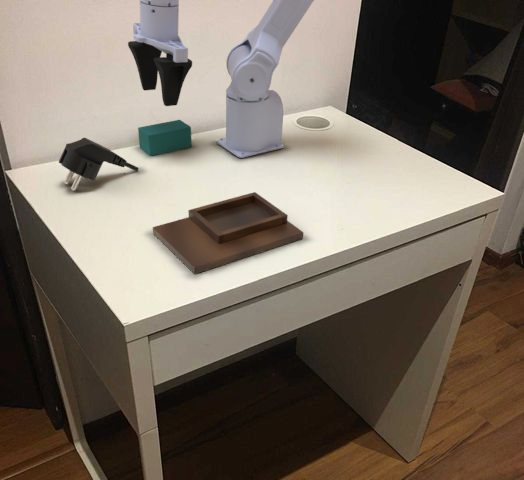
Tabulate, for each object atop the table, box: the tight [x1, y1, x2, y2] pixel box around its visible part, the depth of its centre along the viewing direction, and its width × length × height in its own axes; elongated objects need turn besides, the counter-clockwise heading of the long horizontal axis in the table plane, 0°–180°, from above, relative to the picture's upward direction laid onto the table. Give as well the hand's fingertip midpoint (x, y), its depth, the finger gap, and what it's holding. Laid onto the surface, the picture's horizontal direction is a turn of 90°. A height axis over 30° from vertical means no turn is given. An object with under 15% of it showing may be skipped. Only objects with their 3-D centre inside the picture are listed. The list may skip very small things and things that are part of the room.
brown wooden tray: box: [152, 191, 304, 275], centre depth 79 cm, size 17×12×2 cm
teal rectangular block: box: [137, 119, 193, 157], centre depth 100 cm, size 8×4×4 cm, turn 124°
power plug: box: [58, 137, 139, 192], centre depth 90 cm, size 6×8×12 cm
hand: (159, 97), depth 95 cm, fingers open, 7 cm apart
